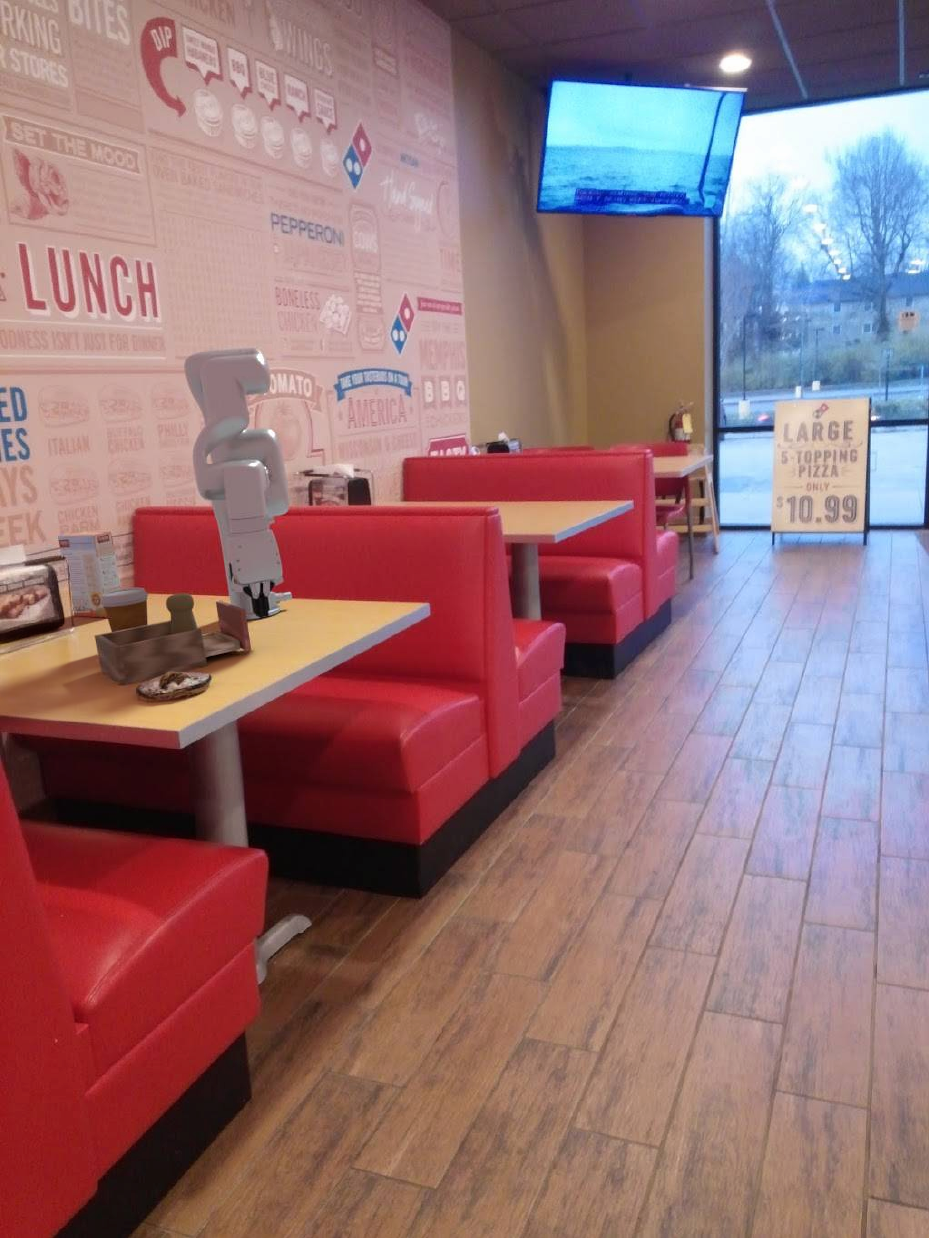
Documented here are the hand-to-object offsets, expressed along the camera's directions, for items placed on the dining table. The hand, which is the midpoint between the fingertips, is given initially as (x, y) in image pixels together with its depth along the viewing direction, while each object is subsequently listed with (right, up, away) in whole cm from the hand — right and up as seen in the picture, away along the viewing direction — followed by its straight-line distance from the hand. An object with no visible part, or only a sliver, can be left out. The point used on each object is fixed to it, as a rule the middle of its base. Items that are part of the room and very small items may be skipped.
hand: (262, 615), depth 198 cm
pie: (-9, -14, -28) cm, 33 cm away
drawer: (-11, -7, -6) cm, 14 cm away
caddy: (-19, -10, -11) cm, 24 cm away
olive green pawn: (-13, -7, -7) cm, 16 cm away
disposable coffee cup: (-29, -7, +9) cm, 31 cm away
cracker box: (-51, 0, +49) cm, 71 cm away
